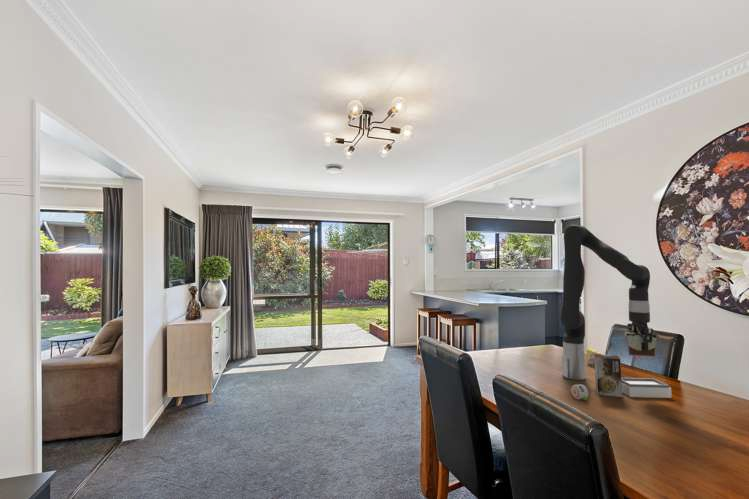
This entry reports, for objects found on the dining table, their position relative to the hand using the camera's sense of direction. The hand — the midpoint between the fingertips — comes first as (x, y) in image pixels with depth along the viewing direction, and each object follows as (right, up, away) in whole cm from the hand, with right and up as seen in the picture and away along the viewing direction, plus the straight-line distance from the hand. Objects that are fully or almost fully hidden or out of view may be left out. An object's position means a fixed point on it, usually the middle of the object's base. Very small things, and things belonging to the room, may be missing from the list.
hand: (640, 349), depth 159 cm
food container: (0, -2, +1) cm, 3 cm away
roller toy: (-31, -19, -7) cm, 37 cm away
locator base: (0, -19, -1) cm, 19 cm away
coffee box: (-15, -19, -2) cm, 24 cm away
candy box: (+6, -21, +39) cm, 44 cm away
